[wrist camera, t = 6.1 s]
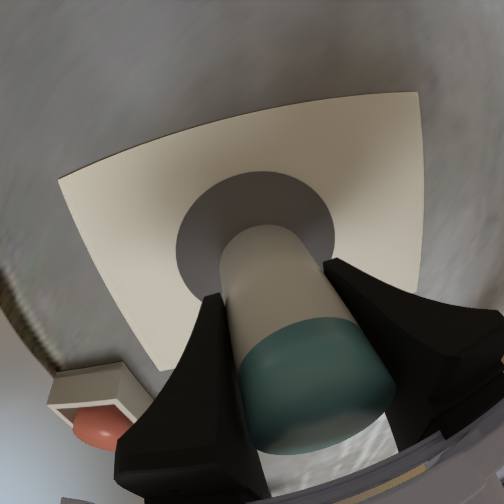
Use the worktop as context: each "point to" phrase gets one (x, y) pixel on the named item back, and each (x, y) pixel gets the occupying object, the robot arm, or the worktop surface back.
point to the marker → (296, 347)
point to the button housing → (98, 391)
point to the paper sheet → (252, 204)
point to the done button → (101, 425)
